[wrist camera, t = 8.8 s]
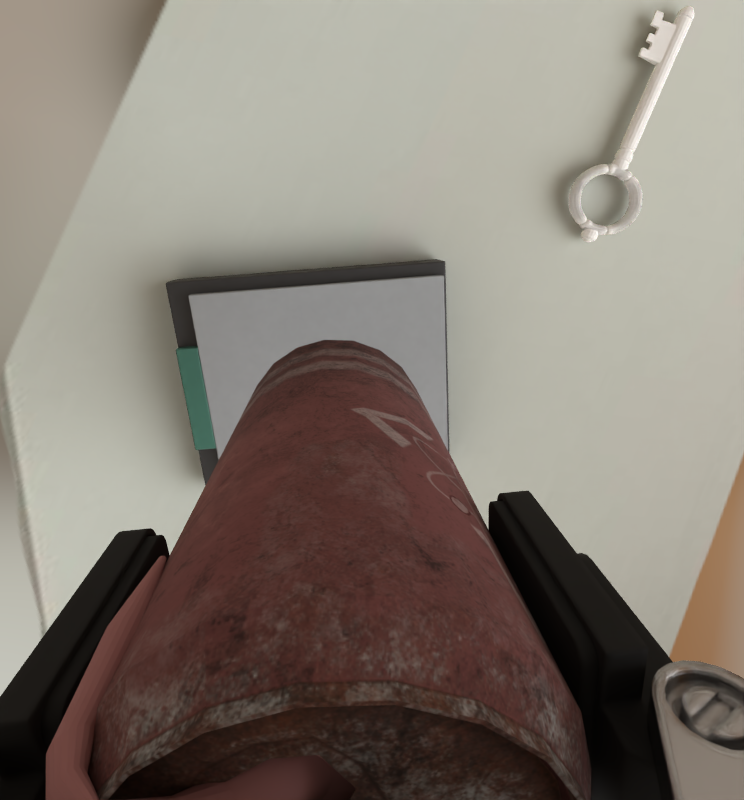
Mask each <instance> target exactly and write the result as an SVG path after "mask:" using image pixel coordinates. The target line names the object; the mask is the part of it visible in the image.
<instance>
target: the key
mask: <svg viewBox="0 0 744 800" xmlns="http://www.w3.org/2000/svg"><path fill="white" fill-rule="evenodd" d="M663 16H664V13H662V12H660V11H658V10H657V11H656V12H655V14H654V17H653V19H652V22H651V24H650V26H652V27H654V28H656V32H655V34H652V33H649V34H648V37H647V39H646V42H647V43H649V44H650V46H649V48H648V49H645V48H641V50H640V52H639V55H638V56H639V57H641V58H643V59H645V60H646V61H648V62H650V63H651V64H653V65H655V67H654V70H653V72H652V74H651V76H650V79H649V81H648V83H647V86H646V88H645V90H644V92H643V95H642V97H641V99H640V101H639V104H638V106H637V108H636V110H635V113H634V115H633V117H632V120H631V122H630V124H629V126H628V129H627V131H626V133H625V135H624V138H623V140H622V142H621V144H620V150H618V151H617V152H616V154H615V156H614V159H615V160H613V162H612V164H607V165H606V164H600V165H596V166H593V167H591V168H589V169H587V170H585V171H584V172H583V173H582V174H580V175H579V176H578V178H577V179H576V180H575V181H574V183H573V185H572V187H571V190H570V193H569V200H568V203H569V210H570V213H571V215H572V217H573V219H574V221H575V222H576V223H578V224H580V227H581V228H582V229H583V231H582V233H581V237H582V238H583V240H584V241H585V242H590V241H595V240H596V238H597V236H598V235H604V234H606V235H611V234H615V233H618V232H620V231H622V230H624V229H626V228H627V227H628V226H629V225H631V224H632V223H633V221H634V220H635V219H636V218H637V216H638V214H639V212H640V210H641V207H642V201H643V194H642V189H641V185H640V183H639V181H638V180H637V178H636V177H634V176H632V173H631V172H630V171H629V170H628V166H629V163H630V162H631V161H632V158H633V153H632V152H634V151H635V149H636V147H637V145H638V143H639V140H640V138H641V136H642V134H643V131H644V129H645V127H646V124H647V122H648V120H649V118H650V115H651V113H652V111H653V108H654V106H655V104H656V102H657V99H658V97H659V95H660V92H661V90H662V88H663V86H664V83H665V81H666V79H667V76H668V74H669V72H670V70H671V67H672V65H673V63H674V61H675V58H676V56H677V54H678V52H679V49H680V47H681V45H682V42H683V40H684V38H685V36H686V33H687V31H688V29H689V27H690V25H691V23H692V20H693V18H694V9H693V8H692V7H691V6H686V7H684V8H683V9H681V10H680V11H679V12H678V14H677V16H676V19H675V21H674V23H673V24H672V23H670V22H667V21H664V20H662V19H663ZM603 174H607V175H612V176H615V177H617V178H619V179H620V180H621V181H623V180H624V184H625V186H626V188H627V190H628V193H629V206H628V209H627V211H626V213H625V215H624V216H623V217H622V218H621V219H620V220H619V221H617V222H615V223H614V224H611V225H607V226H604V225H598V224H595V223H593V222H592V221H591V220H587V217H586V216H585V214H584V212H583V210H582V207H581V194H582V191H583V189H584V187H585V185H586V184H587V183H588V182H589V181H590V180H591V179H592V178H594V177H596V176H599V175H603Z"/></svg>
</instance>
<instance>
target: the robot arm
mask: <svg viewBox="0 0 744 800" xmlns="http://www.w3.org/2000/svg"><path fill="white" fill-rule="evenodd" d="M489 532H490V534H491V536H492V538H493V540H494V542H495V544H496V546H497V548H498V550H499V552H500V554H501V556H502V558H503V560H504V562H505V564H506V566H507V568H508V570H509V571H510V573H511V575H512V577H513V579H514V581H515V583H516V585H517V587H518V589H519V591H520V593H521V595H522V597H523V599H524V601H525V603H526V605H527V607H528V609H529V611H530V613H531V615H532V617H533V618H534V620H535V622H536V624H537V626H538V628H539V630H540V632H541V634H542V636H543V638H544V640H545V642H546V644H547V646H548V648H549V650H550V652H551V654H552V656H553V658H554V660H555V662H556V664H557V665H558V667H559V669H560V671H561V673H562V675H563V677H564V679H565V681H566V683H567V685H568V687H569V689H570V691H571V693H572V695H573V697H574V699H575V701H576V703H577V705H578V707H579V709H580V711H581V713H582V719H583V724H584V730H585V735H586V741H587V746H588V752H589V757H590V763H591V768H592V770H591V800H744V679H743V678H742V677H740V676H738V675H736V674H734V673H732V672H730V671H727V670H725V669H723V668H721V667H718V666H714V665H711V664H707V663H703V662H697V661H696V662H695V661H679V662H672V661H671V659H670V658H669V657H668V655H667V654H666V653H665V652H664V650H663V649H662V648H661V647H660V645H659V644H658V643H657V642H656V640H655V639H654V638H653V637H652V635H651V634H650V633H649V631H648V630H647V629H646V628H645V626H644V625H643V624H642V623H641V621H640V620H639V619H638V618H637V616H636V615H635V614H634V613H633V611H632V610H631V609H630V607H629V606H628V605H627V604H626V602H625V601H624V600H623V599H622V597H621V596H620V595H619V594H618V592H617V591H616V590H615V589H614V587H613V586H612V585H611V583H610V582H609V581H608V580H607V578H606V577H605V576H604V575H603V573H602V572H601V571H600V570H599V568H598V567H597V566H596V565H595V563H594V562H593V561H592V560H591V559H590V558H589V557H588V556H587V555H585V554H583V553H579V554H577V553H576V552H575V551H574V549H573V548H572V547H571V545H570V544H569V543H568V541H567V540H566V539H565V537H564V536H563V535H562V533H561V532H560V531H559V530H558V528H557V527H556V526H555V524H554V523H553V522H552V520H551V519H550V518H549V516H548V515H547V514H546V512H545V511H544V510H543V509H542V507H541V506H540V505H539V503H538V502H537V501H536V499H535V498H534V497H533V495H532V494H531V493H530V492H529V491H519V492H509V493H500V494H499V495H498V499H497V501H493V502H490V504H489ZM160 556H165V557H166V558H167V559H166V562H167V560H168V558H169V551H168V547H167V543H166V540H165V538H164V536H162V535H157V536H156V533H155V532H154V530H153V529H151V528H150V529H140V530H130V531H122V532H119V533H118V534H117V535H116V536H115V537H114V539H113V540H112V542H111V543H110V544H109V546H108V547H107V549H106V550H105V551H104V553H103V554H102V556H101V557H100V558H99V560H98V561H97V562H96V564H95V565H94V567H93V568H92V569H91V571H90V572H89V574H88V575H87V576H86V578H85V579H84V581H83V582H82V583H81V585H80V586H79V588H78V589H77V590H76V592H75V593H74V595H73V596H72V597H71V599H70V600H69V602H68V603H67V604H66V606H65V607H64V609H63V610H62V611H61V613H60V614H59V616H58V617H57V618H56V620H55V621H54V622H53V624H52V625H51V627H50V628H49V629H48V631H47V632H46V634H45V635H44V636H43V638H42V639H41V641H40V642H39V643H38V645H37V646H36V648H35V649H34V650H33V652H32V653H31V655H30V656H29V658H28V659H27V660H26V662H25V663H24V664H23V666H22V667H21V669H20V670H19V671H18V673H17V674H16V676H15V677H14V678H13V680H12V681H11V683H10V684H9V685H8V687H7V688H6V690H5V691H4V692H3V694H2V695H1V696H0V800H46V753H47V750H48V748H49V746H50V744H51V742H52V740H53V738H54V736H55V734H56V732H57V730H58V728H59V725H60V723H61V721H62V719H63V717H64V715H65V713H66V711H67V709H68V707H69V705H70V703H71V701H72V699H73V696H74V694H75V692H76V690H77V688H78V686H79V684H80V682H81V680H82V678H83V676H84V674H85V671H86V669H87V667H88V665H89V663H90V661H91V659H92V657H93V655H94V653H95V651H96V649H97V646H98V644H99V642H100V640H101V638H102V636H103V634H104V632H105V630H106V628H107V626H108V625H109V623H110V622H111V621H112V619H113V618H114V617H115V615H116V614H117V613H118V611H119V610H120V609H121V607H122V606H123V605H124V603H125V602H126V601H127V599H128V598H129V597H130V595H131V594H132V593H133V591H134V590H135V589H136V587H137V586H138V585H139V583H140V582H141V581H142V579H143V578H144V577H145V575H146V574H147V573H148V571H149V570H150V569H151V567H152V566H153V565H154V563H155V562H156V561H157V559H158V558H159V557H160ZM165 564H166V563H165Z"/></svg>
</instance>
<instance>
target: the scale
mask: <svg viewBox="0 0 744 800" xmlns="http://www.w3.org/2000/svg"><path fill="white" fill-rule="evenodd" d="M166 288H167V293H168V298H169V303H170V308H171V313H172V318H173V323H174V328H175V333H176V338H177V343H178V348H177V349H176V354H177V359H178V364H179V369H180V374H181V379H182V384H183V389H184V394H185V399H186V404H187V409H188V414H189V419H190V424H191V429H192V434H193V439H194V444H195V449H196V450H199V455H200V460H201V465H202V470H203V475H204V480H205V485H206V484H207V482H208V480H209V478H210V476H211V474H212V472H213V470H214V468H215V466H216V465H217V463H218V461H219V459H220V457H221V455H222V453H223V451H224V449H225V447H226V445H227V443H228V441H229V439H230V437H231V435H232V433H233V431H234V429H235V427H236V425H237V423H238V422H239V420H240V418H241V416H242V414H243V412H244V410H245V408H246V406H247V404H248V402H249V400H250V398H251V396H252V394H253V392H254V390H255V388H256V386H257V385H258V383H259V382H260V381H261V379H262V378H263V377H264V375H265V374H266V373H267V371H268V370H269V369H270V367H271V366H272V365H273V363H275V362H276V361H278V360H279V359H281V358H282V357H284V356H285V355H287V354H288V353H290V352H291V351H293V350H294V349H296V348H297V347H301V346H304V345H308V344H311V343H315V342H318V341H322V340H350V341H356V342H359V343H361V344H364V345H367V346H370V347H373V348H375V349H378V350H380V351H382V352H383V353H384V354H386V355H387V356H388V357H390V358H391V359H392V360H393V361H395V362H396V363H397V364H399V365H400V366H401V367H402V368H403V370H404V371H405V373H406V374H407V376H408V377H409V379H410V380H411V382H412V383H413V385H414V386H415V388H416V389H417V391H418V393H419V395H420V397H421V399H422V401H423V403H424V405H425V407H426V409H427V411H428V413H429V415H430V417H431V419H432V421H433V423H434V425H435V427H436V429H437V430H438V432H439V434H440V436H441V438H442V440H443V442H444V444H445V446H446V448H447V450H448V452H449V414H448V369H447V324H446V278H445V261H441V260H437V259H436V260H423V261H410V262H397V263H384V264H371V265H358V266H345V267H332V268H319V269H306V270H293V271H280V272H267V273H254V274H241V275H228V276H215V277H202V278H189V279H177V280H173V281H170V282H167V283H166Z"/></svg>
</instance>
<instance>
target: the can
mask: <svg viewBox="0 0 744 800" xmlns="http://www.w3.org/2000/svg"><path fill="white" fill-rule="evenodd" d="M166 559H167V558H166V557H165V556H160V557H159V558H158V559H157V561H156V562H155V563H154V565H153V566H152V567H151V569H150V570H149V571H148V573H147V574H146V575H145V577H144V578H143V579H142V581H141V582H140V583H139V585H138V586H137V587H136V589H135V590H134V591H133V593H132V594H131V595H130V597H129V598H128V599H127V601H126V602H125V603H124V605H123V606H122V607H121V609H120V610H119V611H118V613H117V614H116V615H115V617H114V618H113V619H112V621H111V622H110V623H109V625H108V626H107V628H106V630H105V632H104V634H103V636H102V638H101V640H100V642H99V644H98V646H97V649H96V651H95V653H94V655H93V657H92V659H91V661H90V663H89V665H88V667H87V669H86V671H85V674H84V676H83V678H82V680H81V682H80V684H79V686H78V688H77V690H76V692H75V694H74V696H73V699H72V701H71V703H70V705H69V707H68V709H67V711H66V713H65V715H64V717H63V719H62V721H61V723H60V725H59V728H58V730H57V732H56V734H55V736H54V738H53V740H52V742H51V744H50V746H49V748H48V750H47V753H46V800H591V770H592V768H591V763H590V757H589V752H588V746H587V741H586V735H585V730H584V724H583V719H582V713H581V711H580V709H579V707H578V705H577V703H576V701H575V699H574V697H573V695H572V693H571V691H570V689H569V687H568V685H567V683H566V681H565V679H564V677H563V675H562V673H561V671H560V669H559V667H558V665H557V664H556V662H555V660H554V658H553V656H552V654H551V652H550V650H549V648H548V646H547V644H546V642H545V640H544V638H543V636H542V634H541V632H540V630H539V628H538V626H537V624H536V622H535V620H534V618H533V617H532V615H531V613H530V611H529V609H528V607H527V605H526V603H525V601H524V599H523V597H522V595H521V593H520V591H519V589H518V587H517V585H516V583H515V581H514V579H513V577H512V575H511V573H510V571H509V570H508V568H507V566H506V564H505V562H504V560H503V558H502V556H501V554H500V552H499V550H498V548H497V546H496V544H495V542H494V540H493V538H492V536H491V534H490V532H489V530H488V528H487V526H486V524H485V523H484V521H483V519H482V517H481V515H480V513H479V511H478V509H477V507H476V505H475V503H474V501H473V499H472V497H471V495H470V493H469V491H468V489H467V487H466V485H465V483H464V481H463V479H462V477H461V476H460V474H459V472H458V470H457V468H456V466H455V464H454V462H453V460H452V458H451V456H450V454H449V452H448V450H447V448H446V446H445V444H444V442H443V440H442V438H441V436H440V434H439V432H438V430H437V429H436V427H435V425H434V423H433V421H432V419H431V417H430V415H429V413H428V411H427V409H426V407H425V405H424V403H423V401H422V399H421V397H420V395H419V393H418V391H417V389H416V388H415V386H414V385H413V383H412V382H411V380H410V379H409V377H408V376H407V374H406V373H405V371H404V370H403V368H402V367H401V366H400V365H399V364H397V363H396V362H395V361H393V360H392V359H391V358H390V357H388V356H387V355H386V354H384V353H383V352H382V351H380V350H378V349H375V348H373V347H370V346H367V345H364V344H361V343H359V342H356V341H350V340H322V341H318V342H315V343H311V344H308V345H304V346H301V347H297V348H296V349H294V350H293V351H291V352H290V353H288V354H287V355H285V356H284V357H282V358H281V359H279V360H278V361H276V362H275V363H273V365H272V366H271V367H270V369H269V370H268V371H267V373H266V374H265V375H264V377H263V378H262V379H261V381H260V382H259V383H258V385H257V386H256V388H255V390H254V392H253V394H252V396H251V398H250V400H249V402H248V404H247V406H246V408H245V410H244V412H243V414H242V416H241V418H240V420H239V422H238V423H237V425H236V427H235V429H234V431H233V433H232V435H231V437H230V439H229V441H228V443H227V445H226V447H225V449H224V451H223V453H222V455H221V457H220V459H219V461H218V463H217V465H216V466H215V468H214V470H213V472H212V474H211V476H210V478H209V480H208V482H207V484H206V486H205V488H204V490H203V492H202V494H201V496H200V498H199V500H198V502H197V504H196V506H195V508H194V509H193V511H192V513H191V515H190V517H189V519H188V521H187V523H186V525H185V527H184V529H183V531H182V533H181V535H180V537H179V539H178V541H177V543H176V545H175V547H174V549H173V551H172V552H171V554H170V556H169V558H168V560H167V562H166ZM165 563H166V564H165Z"/></svg>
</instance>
